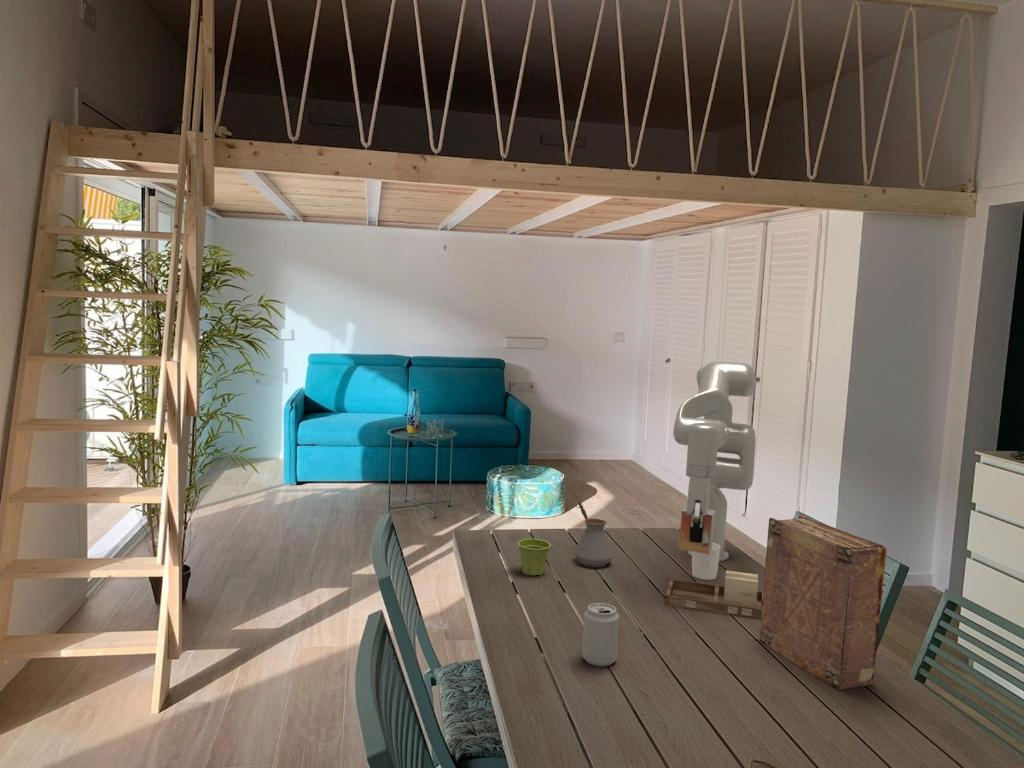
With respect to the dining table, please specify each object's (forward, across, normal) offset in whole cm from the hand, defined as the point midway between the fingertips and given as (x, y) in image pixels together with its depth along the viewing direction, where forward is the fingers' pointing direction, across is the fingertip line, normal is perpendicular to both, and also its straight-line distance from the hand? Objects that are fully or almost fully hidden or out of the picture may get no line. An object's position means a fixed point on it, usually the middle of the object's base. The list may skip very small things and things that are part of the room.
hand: (696, 538), depth 209 cm
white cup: (+18, -21, +2) cm, 28 cm away
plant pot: (+18, -6, -45) cm, 49 cm away
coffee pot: (+18, -26, -33) cm, 46 cm away
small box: (+3, 0, 0) cm, 3 cm away
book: (+18, +26, +28) cm, 42 cm away
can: (+18, +43, -17) cm, 50 cm away
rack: (+18, 0, +6) cm, 19 cm away
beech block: (+17, 0, +12) cm, 21 cm away
